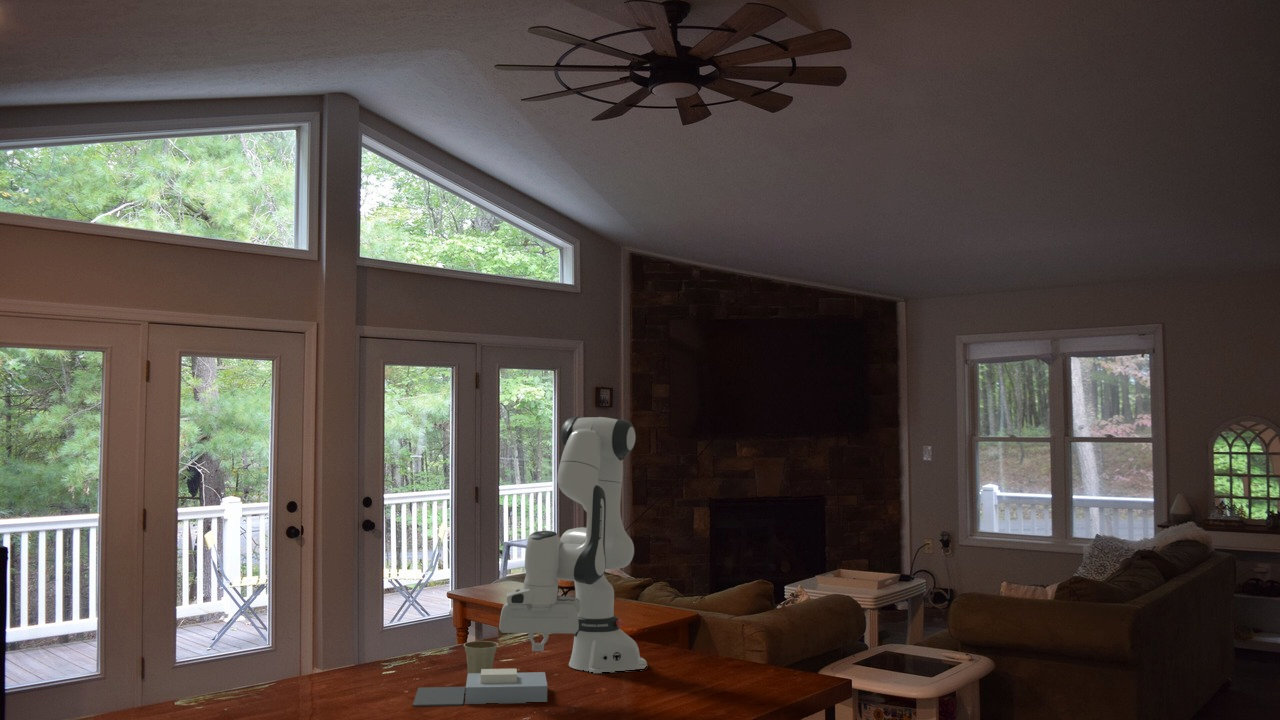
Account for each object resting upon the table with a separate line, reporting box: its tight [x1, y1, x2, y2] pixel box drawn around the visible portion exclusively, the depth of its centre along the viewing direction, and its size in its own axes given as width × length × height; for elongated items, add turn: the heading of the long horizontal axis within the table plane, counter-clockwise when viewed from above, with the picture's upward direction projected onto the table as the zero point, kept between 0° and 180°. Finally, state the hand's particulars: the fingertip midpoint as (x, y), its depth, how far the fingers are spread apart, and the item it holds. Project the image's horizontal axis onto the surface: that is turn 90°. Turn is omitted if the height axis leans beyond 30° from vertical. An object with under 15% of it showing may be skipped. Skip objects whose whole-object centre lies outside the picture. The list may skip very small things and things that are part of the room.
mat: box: [412, 686, 466, 707], centre depth 243 cm, size 12×16×1 cm
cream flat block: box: [480, 668, 518, 683], centre depth 245 cm, size 9×6×2 cm, turn 98°
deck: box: [464, 671, 548, 705], centre depth 245 cm, size 20×14×4 cm
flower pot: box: [463, 640, 499, 674], centre depth 264 cm, size 9×9×9 cm
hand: (537, 650), depth 247 cm, fingers closed
